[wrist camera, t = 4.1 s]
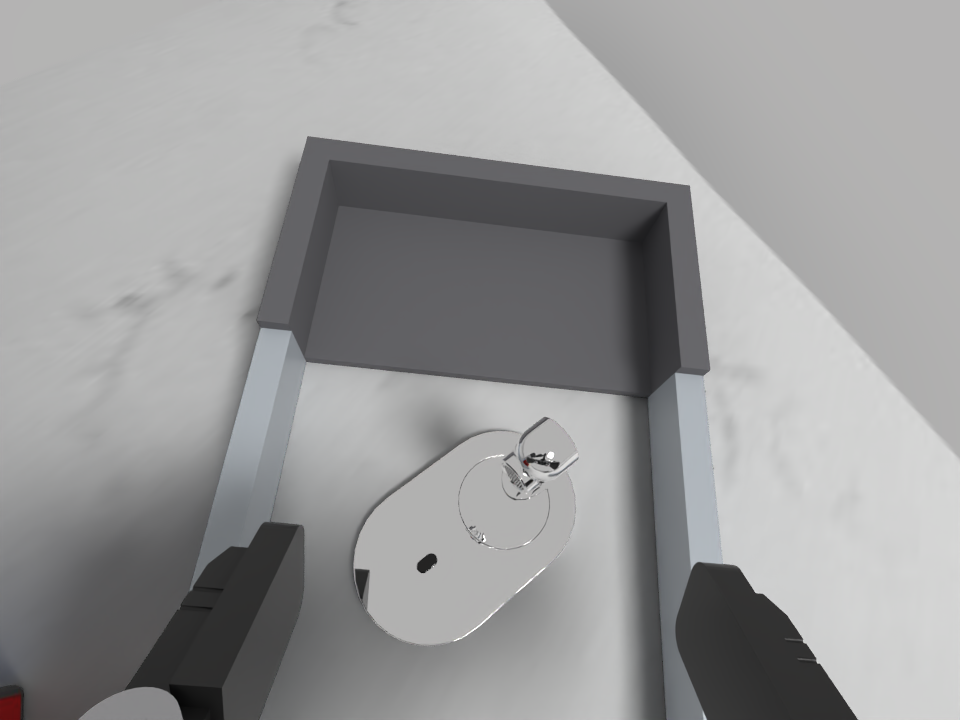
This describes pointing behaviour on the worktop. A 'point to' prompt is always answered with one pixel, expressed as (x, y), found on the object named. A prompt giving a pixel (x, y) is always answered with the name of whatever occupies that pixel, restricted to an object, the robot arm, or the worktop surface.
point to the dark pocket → (487, 271)
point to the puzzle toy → (11, 703)
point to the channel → (675, 475)
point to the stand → (467, 534)
